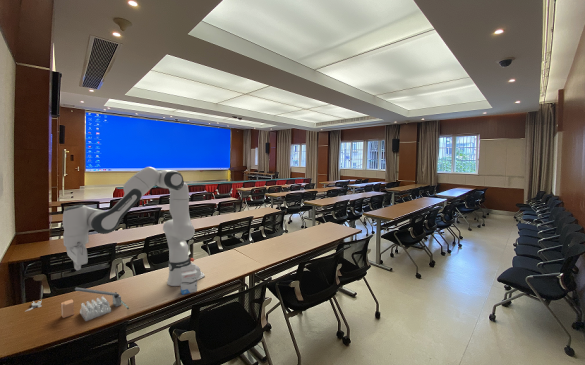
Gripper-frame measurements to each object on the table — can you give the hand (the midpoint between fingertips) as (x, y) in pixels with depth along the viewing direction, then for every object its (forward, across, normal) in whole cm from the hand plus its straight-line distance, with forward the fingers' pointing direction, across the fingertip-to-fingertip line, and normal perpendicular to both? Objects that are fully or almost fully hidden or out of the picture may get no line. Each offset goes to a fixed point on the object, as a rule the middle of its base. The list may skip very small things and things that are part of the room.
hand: (77, 269), depth 117 cm
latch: (+24, +6, +3) cm, 25 cm away
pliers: (+26, +29, +12) cm, 40 cm away
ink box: (+25, -14, -47) cm, 55 cm away
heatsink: (+24, 0, -9) cm, 25 cm away
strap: (+14, 0, -7) cm, 16 cm away
